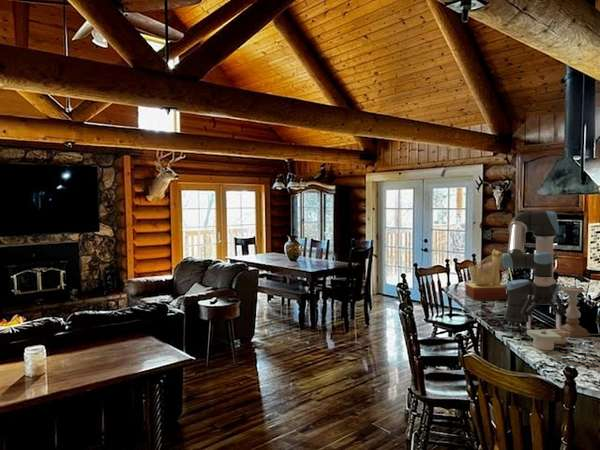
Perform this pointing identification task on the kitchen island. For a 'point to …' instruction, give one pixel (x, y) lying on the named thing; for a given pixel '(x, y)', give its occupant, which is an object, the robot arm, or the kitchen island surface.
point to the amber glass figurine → (486, 280)
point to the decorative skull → (490, 269)
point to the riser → (560, 333)
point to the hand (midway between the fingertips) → (543, 328)
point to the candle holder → (573, 315)
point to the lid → (543, 335)
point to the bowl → (543, 345)
